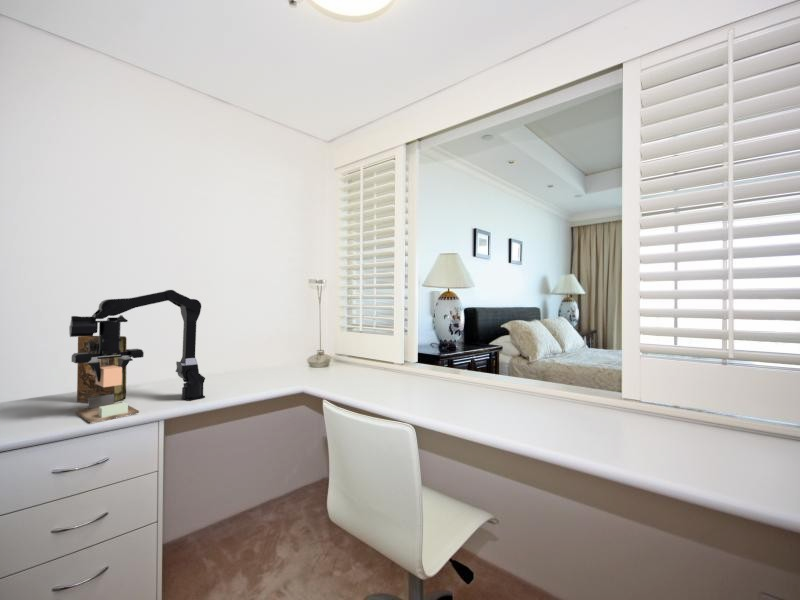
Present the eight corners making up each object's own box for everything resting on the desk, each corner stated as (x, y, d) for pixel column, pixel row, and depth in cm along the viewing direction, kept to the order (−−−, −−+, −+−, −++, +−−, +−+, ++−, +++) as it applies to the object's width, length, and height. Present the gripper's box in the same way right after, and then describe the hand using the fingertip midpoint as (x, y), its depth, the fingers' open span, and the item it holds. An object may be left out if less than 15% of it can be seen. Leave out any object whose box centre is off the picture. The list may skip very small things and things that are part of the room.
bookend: (111, 403, 132) (112, 392, 132) (114, 405, 130) (114, 393, 130) (87, 408, 126) (87, 396, 126) (89, 409, 125) (89, 398, 125)
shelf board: (121, 404, 134) (121, 401, 134) (138, 413, 123) (138, 410, 123) (75, 412, 124) (75, 410, 124) (90, 423, 113) (90, 420, 113)
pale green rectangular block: (124, 410, 123) (124, 402, 123) (127, 412, 121) (127, 403, 121) (98, 416, 118) (99, 406, 118) (101, 417, 116) (101, 408, 116)
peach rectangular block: (113, 381, 129) (113, 364, 129) (121, 384, 123) (122, 367, 123) (95, 383, 125) (96, 366, 125) (103, 387, 119) (103, 369, 119)
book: (74, 402, 136) (74, 337, 137) (88, 398, 142) (88, 335, 142) (113, 404, 135) (114, 337, 135) (126, 400, 140) (126, 336, 140)
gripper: (133, 332, 137) (132, 373, 136) (68, 335, 122) (66, 381, 121) (144, 334, 130) (143, 377, 130) (76, 337, 115) (75, 386, 115)
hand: (108, 380), depth 124 cm, fingers closed on peach rectangular block, 5 cm apart
